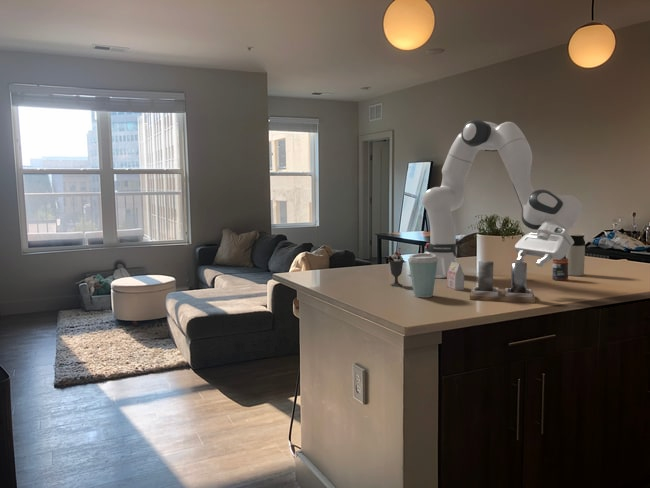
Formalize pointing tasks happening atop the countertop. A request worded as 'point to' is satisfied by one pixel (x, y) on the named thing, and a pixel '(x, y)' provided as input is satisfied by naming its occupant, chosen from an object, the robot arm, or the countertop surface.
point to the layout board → (493, 294)
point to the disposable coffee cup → (423, 273)
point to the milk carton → (455, 277)
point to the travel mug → (576, 255)
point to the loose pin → (518, 277)
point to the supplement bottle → (560, 269)
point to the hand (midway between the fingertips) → (528, 263)
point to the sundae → (396, 266)
